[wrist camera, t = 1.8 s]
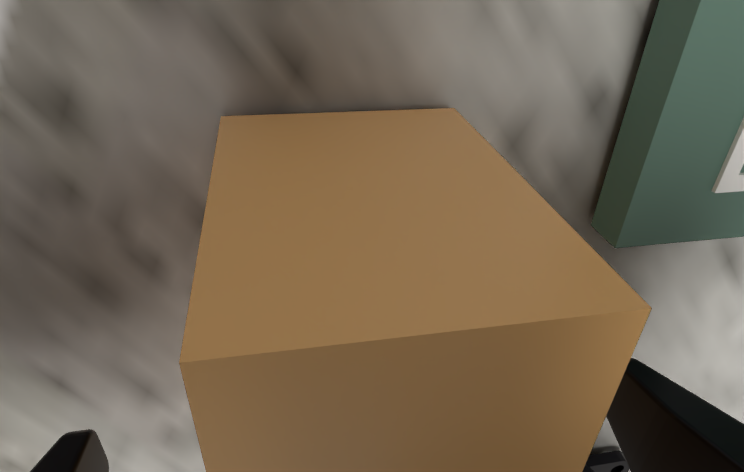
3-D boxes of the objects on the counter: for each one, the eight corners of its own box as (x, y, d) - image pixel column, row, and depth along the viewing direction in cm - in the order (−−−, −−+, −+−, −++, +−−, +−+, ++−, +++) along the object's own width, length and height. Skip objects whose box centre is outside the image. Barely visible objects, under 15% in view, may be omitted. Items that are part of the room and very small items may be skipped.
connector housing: (420, 387, 14) (509, 644, 9) (260, 409, 13) (263, 701, 8) (454, 108, 10) (651, 308, 5) (220, 115, 9) (178, 362, 4)
